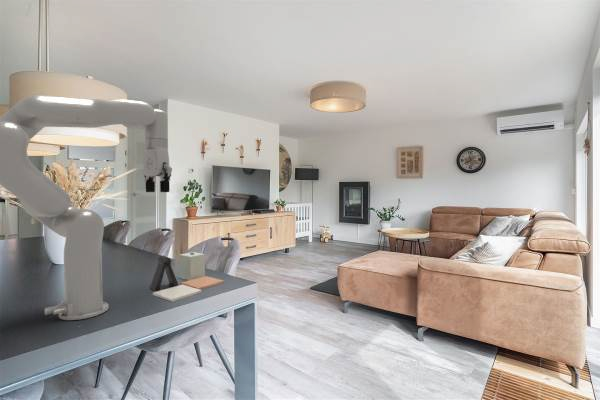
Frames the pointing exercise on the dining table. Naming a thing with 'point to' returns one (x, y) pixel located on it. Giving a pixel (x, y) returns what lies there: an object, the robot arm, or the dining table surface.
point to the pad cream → (177, 292)
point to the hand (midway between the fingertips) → (157, 192)
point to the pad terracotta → (202, 282)
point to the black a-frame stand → (159, 275)
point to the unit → (191, 265)
